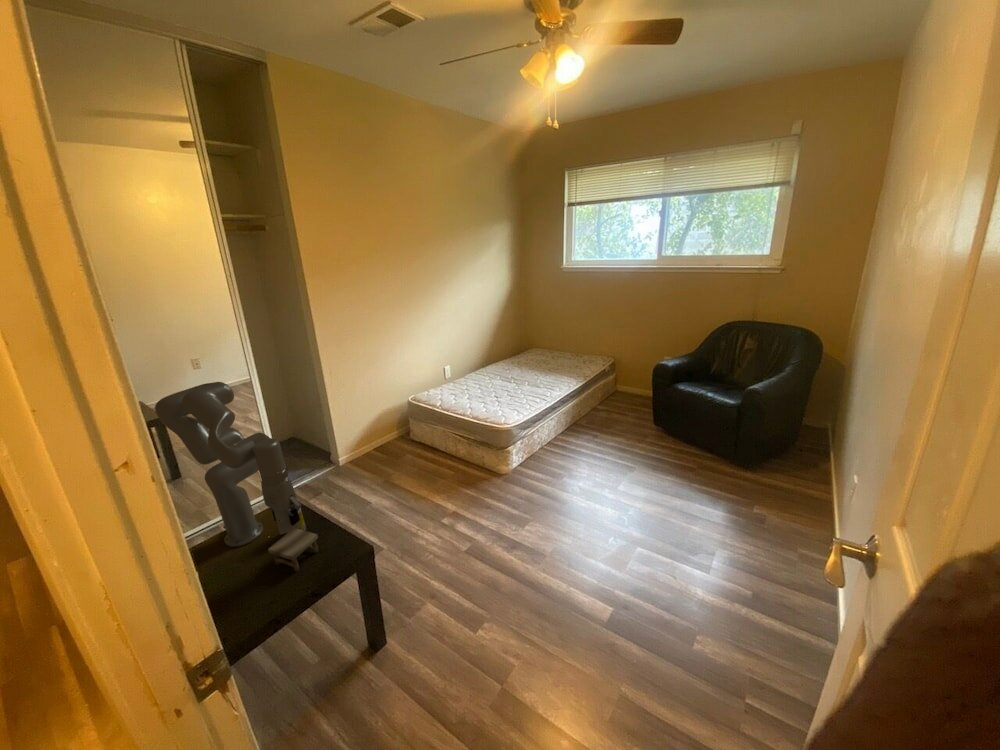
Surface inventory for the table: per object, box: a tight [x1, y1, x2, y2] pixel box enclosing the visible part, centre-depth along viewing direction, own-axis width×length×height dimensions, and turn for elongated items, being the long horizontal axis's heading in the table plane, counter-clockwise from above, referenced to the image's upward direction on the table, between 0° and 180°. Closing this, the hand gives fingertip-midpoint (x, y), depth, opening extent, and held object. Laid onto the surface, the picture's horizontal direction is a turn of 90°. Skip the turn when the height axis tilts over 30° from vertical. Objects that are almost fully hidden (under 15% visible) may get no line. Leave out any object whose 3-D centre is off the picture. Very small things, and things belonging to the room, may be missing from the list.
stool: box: [267, 529, 319, 572], centre depth 140 cm, size 11×11×7 cm
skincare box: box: [272, 503, 299, 535], centre depth 135 cm, size 6×4×12 cm
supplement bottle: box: [286, 507, 307, 534], centre depth 152 cm, size 7×7×13 cm
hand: (287, 520), depth 136 cm, fingers closed on skincare box, 6 cm apart
